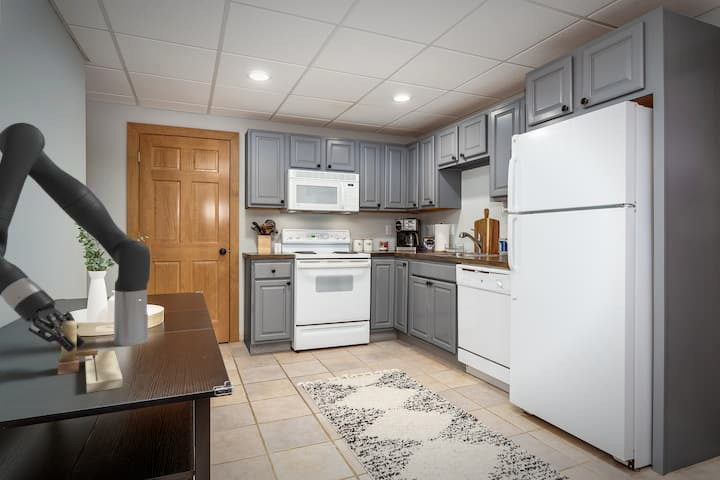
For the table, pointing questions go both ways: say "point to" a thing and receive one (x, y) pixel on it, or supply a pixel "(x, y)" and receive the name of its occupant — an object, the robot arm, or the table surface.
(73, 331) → the marking gauge
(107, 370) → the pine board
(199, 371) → the table surface
